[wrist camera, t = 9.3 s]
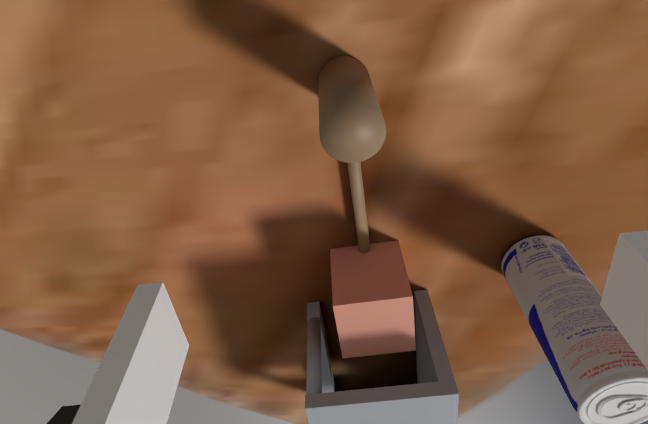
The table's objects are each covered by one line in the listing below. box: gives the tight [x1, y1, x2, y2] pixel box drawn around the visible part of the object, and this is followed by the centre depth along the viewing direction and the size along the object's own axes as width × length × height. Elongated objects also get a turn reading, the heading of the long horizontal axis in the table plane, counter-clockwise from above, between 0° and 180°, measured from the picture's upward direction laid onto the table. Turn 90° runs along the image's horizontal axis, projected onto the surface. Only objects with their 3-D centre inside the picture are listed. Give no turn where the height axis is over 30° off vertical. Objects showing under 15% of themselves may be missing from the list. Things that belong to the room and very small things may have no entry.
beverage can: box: [501, 235, 648, 424], centre depth 35 cm, size 6×6×15 cm
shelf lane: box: [305, 290, 459, 424], centre depth 43 cm, size 15×11×11 cm
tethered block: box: [318, 56, 416, 359], centre depth 34 cm, size 22×6×9 cm, turn 8°
